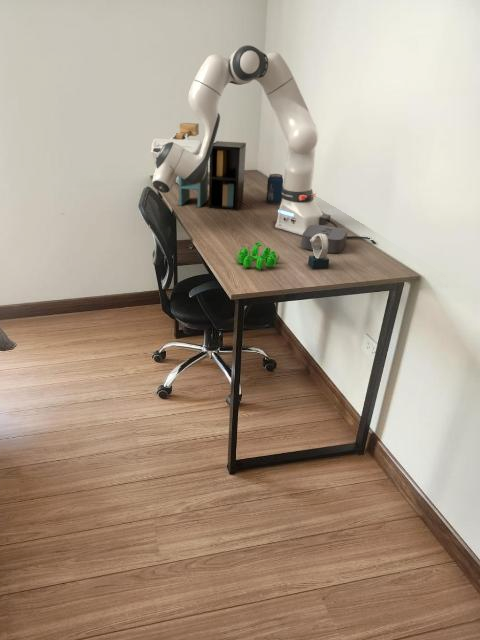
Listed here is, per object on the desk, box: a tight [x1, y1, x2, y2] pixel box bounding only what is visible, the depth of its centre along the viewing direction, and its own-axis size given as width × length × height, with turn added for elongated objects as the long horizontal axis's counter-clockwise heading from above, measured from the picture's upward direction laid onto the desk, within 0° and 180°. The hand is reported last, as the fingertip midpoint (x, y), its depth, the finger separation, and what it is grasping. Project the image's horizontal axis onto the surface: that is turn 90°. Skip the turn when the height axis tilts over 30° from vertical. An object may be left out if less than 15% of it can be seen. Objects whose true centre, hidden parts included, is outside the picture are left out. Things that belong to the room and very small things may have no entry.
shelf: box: [208, 140, 247, 211], centre depth 236 cm, size 11×13×26 cm
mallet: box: [176, 122, 200, 140], centre depth 221 cm, size 15×7×4 cm, turn 162°
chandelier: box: [234, 242, 280, 271], centre depth 183 cm, size 15×15×7 cm
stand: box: [178, 163, 209, 208], centre depth 242 cm, size 12×10×22 cm
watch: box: [307, 233, 330, 270], centre depth 180 cm, size 6×8×11 cm
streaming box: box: [301, 225, 348, 254], centre depth 198 cm, size 14×14×5 cm
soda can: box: [265, 173, 284, 205], centre depth 245 cm, size 7×7×12 cm
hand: (181, 134), depth 217 cm, fingers closed on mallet, 2 cm apart
